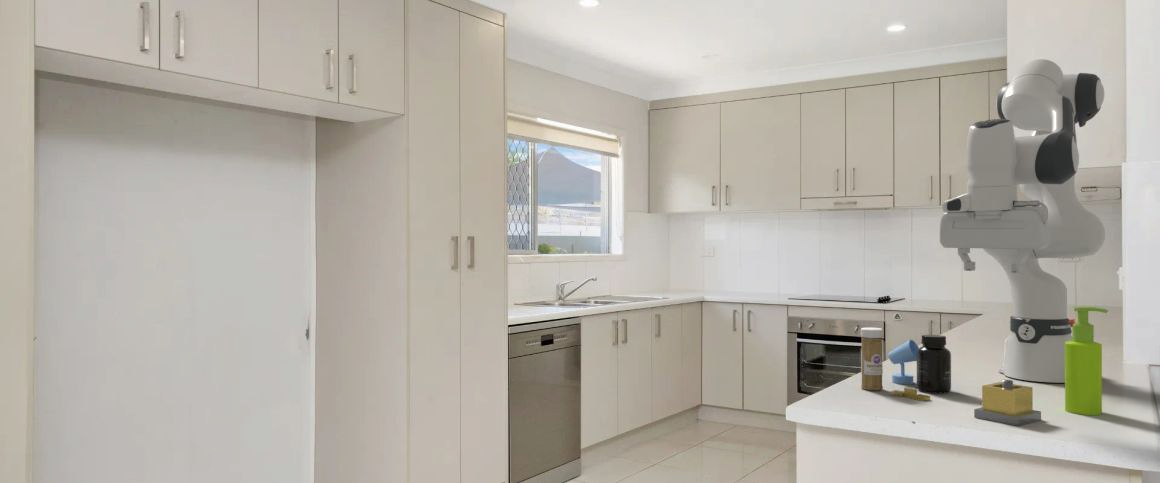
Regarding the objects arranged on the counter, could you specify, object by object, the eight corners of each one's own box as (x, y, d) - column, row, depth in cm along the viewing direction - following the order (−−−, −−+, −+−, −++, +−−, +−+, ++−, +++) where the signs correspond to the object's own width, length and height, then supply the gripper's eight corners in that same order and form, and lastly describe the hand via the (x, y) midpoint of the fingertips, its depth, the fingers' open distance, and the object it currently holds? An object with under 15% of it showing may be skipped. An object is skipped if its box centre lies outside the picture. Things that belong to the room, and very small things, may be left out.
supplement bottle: (955, 394, 163) (954, 338, 163) (920, 393, 164) (920, 337, 164) (946, 388, 170) (946, 333, 169) (913, 387, 171) (913, 333, 171)
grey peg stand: (997, 411, 147) (997, 374, 147) (1041, 419, 141) (1040, 381, 141) (974, 417, 143) (974, 379, 143) (1018, 426, 136) (1018, 386, 136)
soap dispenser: (1109, 417, 142) (1109, 309, 142) (1065, 413, 146) (1064, 307, 145) (1107, 410, 147) (1107, 306, 147) (1065, 406, 151) (1064, 305, 150)
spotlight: (924, 382, 176) (893, 379, 180) (923, 339, 175) (893, 336, 180) (916, 386, 172) (885, 382, 177) (916, 341, 172) (885, 339, 177)
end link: (999, 405, 146) (999, 382, 146) (1032, 411, 141) (1032, 387, 141) (982, 409, 143) (982, 385, 143) (1015, 415, 138) (1015, 391, 138)
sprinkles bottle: (871, 391, 166) (871, 329, 166) (856, 388, 171) (856, 327, 171) (887, 389, 168) (887, 328, 168) (872, 386, 172) (872, 326, 172)
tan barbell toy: (896, 393, 164) (896, 385, 164) (930, 399, 158) (930, 391, 158) (889, 394, 163) (889, 386, 163) (923, 401, 157) (923, 392, 157)
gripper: (1055, 199, 145) (1057, 272, 145) (951, 202, 162) (953, 268, 162) (1039, 200, 141) (1040, 275, 142) (934, 203, 158) (936, 270, 159)
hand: (992, 271), depth 152 cm, fingers open, 8 cm apart
